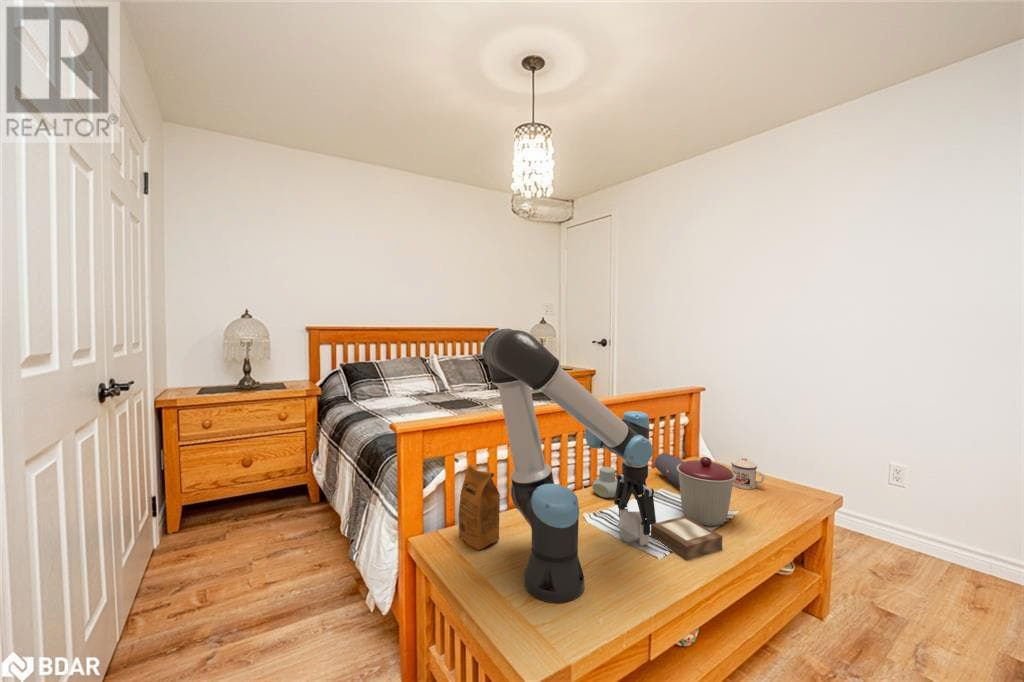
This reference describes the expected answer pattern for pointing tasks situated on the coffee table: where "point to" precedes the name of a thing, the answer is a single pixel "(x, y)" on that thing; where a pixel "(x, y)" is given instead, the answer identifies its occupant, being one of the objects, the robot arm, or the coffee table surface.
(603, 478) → the air freshener
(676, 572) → the coffee table surface
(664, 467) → the bluetooth speaker
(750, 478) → the teacup with lid
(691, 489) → the canister
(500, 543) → the coffee table surface
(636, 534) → the die
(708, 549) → the base
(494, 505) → the coffee package
